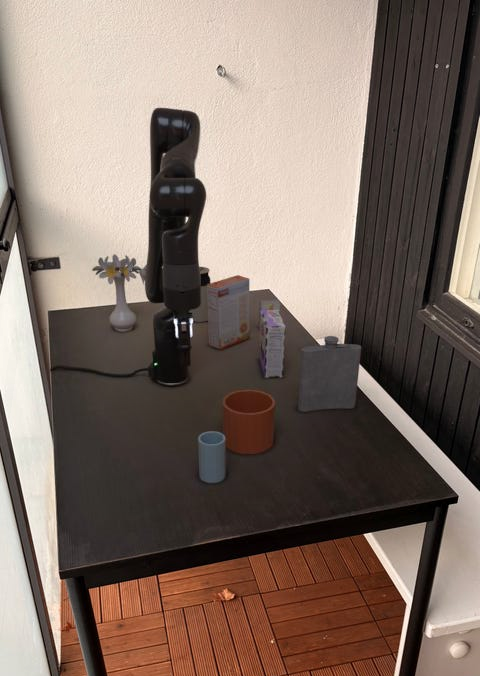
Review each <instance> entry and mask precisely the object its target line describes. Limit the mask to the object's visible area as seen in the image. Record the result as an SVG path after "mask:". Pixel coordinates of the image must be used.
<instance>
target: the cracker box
mask: <svg viewBox="0 0 480 676" xmlns="http://www.w3.org/2000/svg"><path fill="white" fill-rule="evenodd" d="M207 312H208V321H207V337H208V346H209V347H212V348H215V349H216V350H223V349H226V348H227V347H230V346H234V345H235V344H238V343H240V342H243V341H246V340H249V339H250V278H249V277H245V276H243V275H239V274H237V275H233V276H230V277H227V278H223V279H220V280H216V281H213V282H210V284H207Z"/></svg>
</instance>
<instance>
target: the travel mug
mask: <svg viewBox="0 0 480 676" xmlns="http://www.w3.org/2000/svg"><path fill="white" fill-rule="evenodd" d="M199 268H200V284H201V305H200V306H199V307H198V308H196V309H192V310H190V311H189V312H192V314H193V323H195V322H196V323H205V322H208V312H207V284H210V283H211V277H210V275H209V272H210V268H209V267H206V266H199Z"/></svg>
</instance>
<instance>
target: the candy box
mask: <svg viewBox="0 0 480 676" xmlns="http://www.w3.org/2000/svg"><path fill="white" fill-rule="evenodd" d="M285 343H286V324H285V322H284V319H283V317H282V315H281V311H280V312H279V310H261V318H260V329H259V362H260V367H261V370H262V374H263V378H267V379H272V378H273V379H274V378H275V379H278V378H280V379H281V378H283V376H284V360H285Z"/></svg>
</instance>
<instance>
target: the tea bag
mask: <svg viewBox="0 0 480 676" xmlns="http://www.w3.org/2000/svg"><path fill="white" fill-rule="evenodd" d="M280 302H281V301H280V300H279V299H273V300H272V299H271V300H260V301H259V307H258V329H259V330H260V318H261V310H279V312H280V313H281V303H280Z"/></svg>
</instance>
